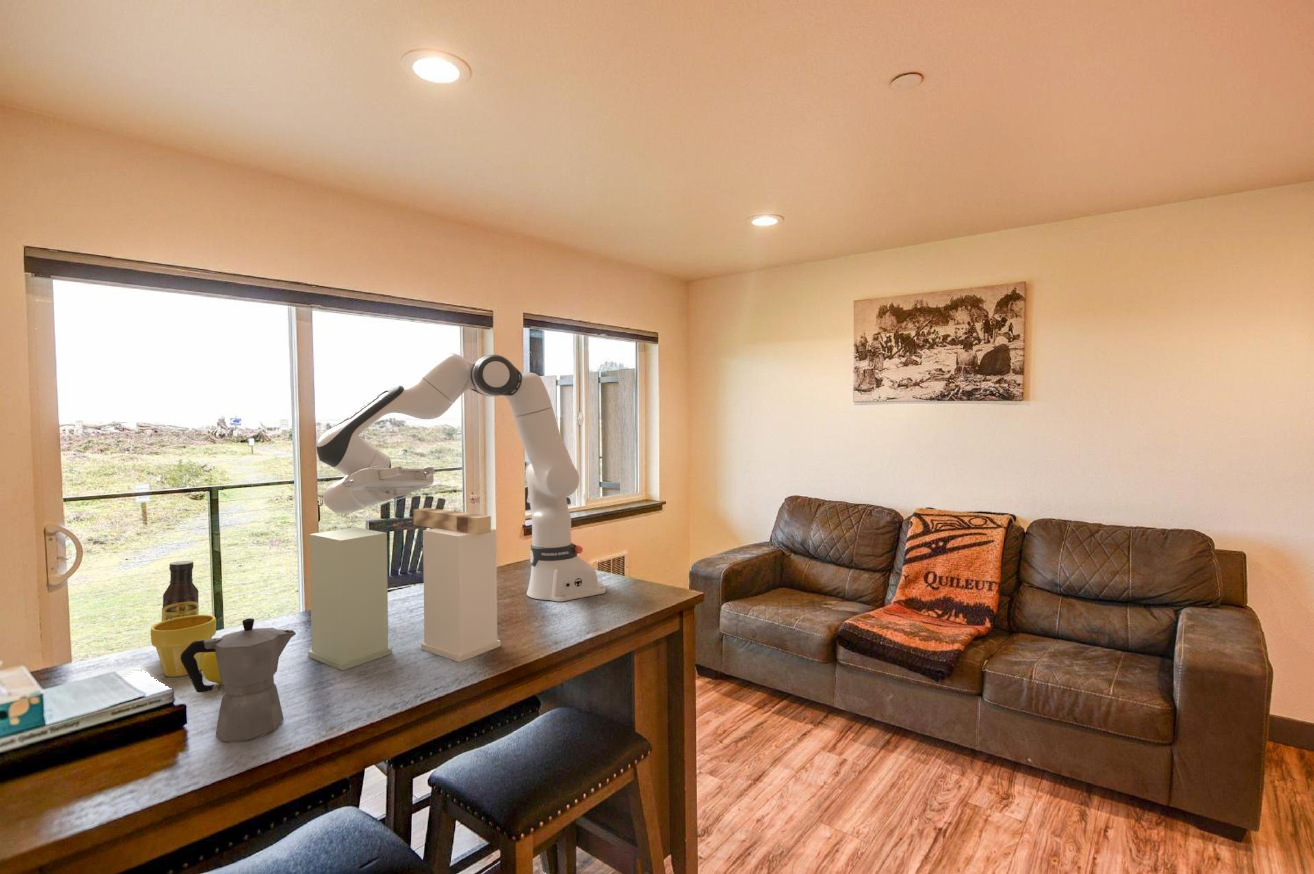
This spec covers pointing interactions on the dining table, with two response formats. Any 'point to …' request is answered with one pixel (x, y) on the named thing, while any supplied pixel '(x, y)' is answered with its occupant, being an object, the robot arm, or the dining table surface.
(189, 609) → the sauce bottle
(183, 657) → the coffeepot
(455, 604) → the white pedestal
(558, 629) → the dining table surface
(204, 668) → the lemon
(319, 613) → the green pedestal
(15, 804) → the dining table surface
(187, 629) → the plant pot
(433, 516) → the beech block
